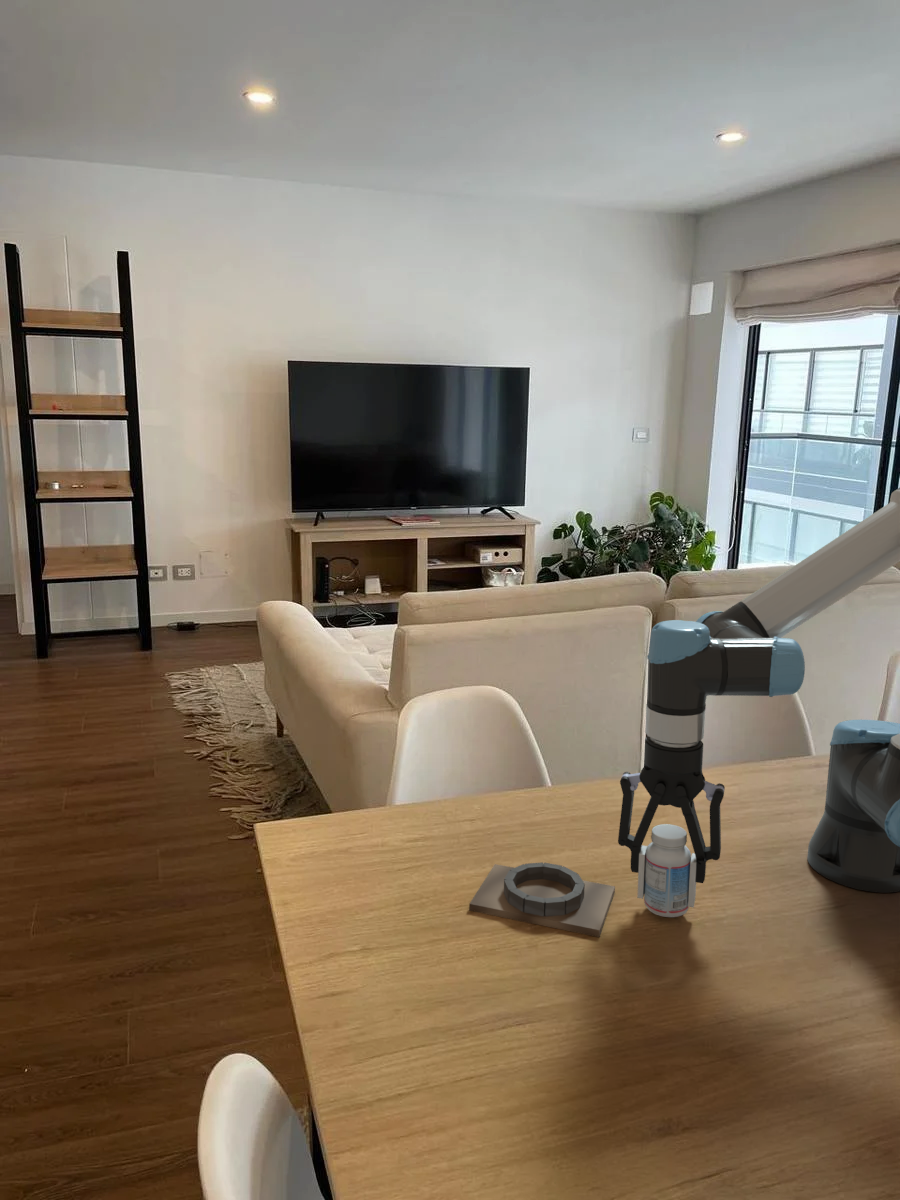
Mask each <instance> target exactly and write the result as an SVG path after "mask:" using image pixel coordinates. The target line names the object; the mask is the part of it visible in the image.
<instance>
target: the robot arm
mask: <svg viewBox="0 0 900 1200" xmlns="http://www.w3.org/2000/svg"><path fill="white" fill-rule="evenodd" d="M899 563H900V487H898V488H897V489H895V490H894V491H892V492H891V495H890V499H889V502H888V503H887V504H886V505H884V506H883V507H881V508H880V509H878V510H876V511H875V512H874V513H872V514H870V515H869V516H868V517H866V518H865V519H863V520H861V521H860V522H859V523H857V524H856V525H854V526H852V527H851V528H849V529H848V530H846V531H845V532H843V533H842V534H840V535H839V536H837V537H836V538H834V539H832V540H831V541H830V542H828V543H827V544H825V545H824V546H822V547H820V548H819V549H817V550H816V551H815V552H813V553H811V554H810V555H809V556H807V557H805V558H803V559H802V560H801V561H799V562H798V563H796V564H795V565H793V566H791V568H789V569H788V570H786V571H784V572H783V573H781V574H780V575H778V576H777V577H775V578H774V579H772V580H770V581H769V582H768V583H766V584H764V585H763V586H762V587H760V588H759V589H757V590H756V591H754V592H752V593H751V594H749V595H748V596H746V597H745V598H744V599H741V600H740V601H738V602H737V603H735V604H734V605H732V606H730V607H729V608H727V609H726V610H724V611H720V610H717V611H716V610H715V611H714V610H713V611H709V612H707V613H704V614H703V615H701V616H700V617H699V618H698V619H696V620H695V621H694V620H693V621H692V620H682V619H673V620H672V619H671V620H663V621H660V622H658V623H656V624H655V625H654V626H653V627H652V628H651V630H650V635H649V637H650V638H649V645H648V652H647V653H648V655H647V666H648V667H647V690H646V691H647V693H646V694H647V696H646V705H645V731H644V732H645V735H646V737H645V739H644V756H643V757H644V758H643V768H641V770H640V772H636V773H630V772H629V771H624V772H623V773H622V775H621V779H620V781H619V784H620V787H621V793H622V801H621V802H622V803H621V811H620V820H619V829H618V837H617V843H618V845H619V846H621V847H622V846H623V847H624V846H625V847H627V848H628V849H629V850H630V871H631V872H632V873H637V875H638V877H637V878H638V879H637V896H636V897H637V899H643V900H644V890H645V857H646V848H647V846H648V845H643V843H644V841H645V838H646V837H647V833H648V831H649V829H650V826H651V823H652V821H653V818H654V816H655V814H656V812H657V809H658V807H659V806H672V807H675V808H678V809H679V808H680V809H681V813H682V816H684V817H683V818H684V821H685V823H686V824H685V825H686V827H687V831H688V835H689V838H690V842H691V846H692V849H693V853H691V862H690V879H689V898H688V907H689V908H695V903H696V902H695V901H696V896H697V895H696V893H697V891H696V890H697V883H699V884H704V882H705V881H706V873H707V872H706V868H707V861H711V860H713V861H718V860H720V858H721V853H722V851H721V850H722V837H721V836H722V832H721V828H722V827H721V824H722V823H721V804H722V801H723V799H724V795H725V790H726V789H725V785H724V784H723V783H720V782H719V783H716V784H715V783H712V782H709V781H707V780H706V778H705V776H704V773H703V762H704V761H703V759H704V756H703V755H704V743H703V741H702V740H703V739H704V736H705V723H706V722H705V721H706V709H707V707H706V705H707V704H706V701H707V697H708V696H714V697H717V696H719V697H720V696H723V697H725V696H732V697H733V696H738V697H740V696H741V697H742V696H743V697H744V696H745V697H747V696H749V697H750V696H751V697H758V696H759V697H769V698H773V697H775V696H776V697H779V696H791V695H793V694H796V693H797V692H799V690H800V689H801V687H802V685H803V683H804V678H805V670H806V666H805V665H806V661H805V657H804V656H805V655H804V652H803V649H802V647H801V645H800V644H799V642H798V641H797V640H795V639H793V638H789V637H784V636H786V635H788V634H790V633H791V632H792V631H794V630H796V629H797V628H799V627H800V626H802V625H803V624H805V623H806V622H807V621H809V620H811V619H813V618H814V617H816V616H817V615H819V614H820V613H822V612H823V611H825V610H827V609H828V608H829V607H831V606H833V605H834V604H836V603H837V602H839V601H840V600H842V599H843V598H845V597H847V596H848V595H849V594H851V593H853V592H855V591H856V590H858V589H859V588H861V587H863V586H864V585H866V584H867V583H868V582H870V581H872V580H873V579H874V578H876V577H878V576H879V575H881V574H883V573H884V572H885V571H887V570H889V569H890V568H892V567H894V566H895V565H896V564H899ZM829 746H830V751H829V760H828V771H827V783H826V794H825V804H824V811H823V815H822V816H821V818H820V819H819V822H818V824H817V826H816V828H815V830H814V833H813V834H812V836H811V838H810V840H809V842H808V848H807V857H806V858H807V862H808V864H809V865H810V867H811V868H812V869H813V870H814V871H816V872H817V873H818V874H819V875H821V876H823V877H824V878H826V879H828V880H830V881H831V882H834V883H837V884H839V885H843V886H845V887H849V888H850V889H851V888H852V889H856V890H860V891H864V892H872V893H884V894H885V893H896V892H897V893H899V892H900V723H899V722H894V721H888V720H887V721H886V720H877V719H849V720H843V721H840V722H838V723H837V724H836V725H835V726H834V728H833V730H832V737H831V741H830V743H829ZM640 783H641V785H643V787H644V789H646V792H647V793H648V794H649V797H650V798H649V801H648V803H647V805H646V808H645V811H644V812H643V816H642V818H641V821H640V823H639V826H638V828H637V831H636V832H635V835H633V834H631V833H630V832H631V825H632V815H633V808H634V806H633V805H634V799H635V791H636V790H637V789H638V787H639V784H640ZM702 791H704V793H705V798H706V800H707V801H709V803H710V805H709V842H710V843H709V846H706V843H705V840H704V835H703V832H702V829H701V825H700V821H699V818H698V815H697V811H696V808H695V802H694V799H695V798H696V797H697V796H698V795H699V794H700V793H701V792H702Z"/></svg>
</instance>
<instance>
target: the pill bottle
mask: <svg viewBox="0 0 900 1200" xmlns="http://www.w3.org/2000/svg"><path fill="white" fill-rule="evenodd" d="M687 835H688V834H687V830H685V828H683V827H681V826H679V825H675V824H669V823H663V824H662V823H661V824H658V825H655V826H654V827H652V829H651V836H650V838H651V842H649V844H648V845H646V846H647V848H646V857H645V890H644V896H643V902H644V906H645V907H646V908H647V910H648V911H650V912H651V913H652V914H654V915H656V916H660V917H665V918H677V917H681V916H683V915H685V914H686V913H687V912H688V910H689V909H690V907H688V898H689V879H690V862H691V856H692V853H691V851H690V849H689V848H688V846H687V845H686V844H687V842H688V841H687V840H688V837H687Z"/></svg>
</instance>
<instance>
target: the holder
mask: <svg viewBox="0 0 900 1200" xmlns="http://www.w3.org/2000/svg"><path fill="white" fill-rule="evenodd" d="M615 891H616V886H615V885H610V884H605V883H599V882H593V881H588V880H583V879H582V877H581V876H580V874H579V873H577V872H576V871H574V870H572V869H570V868H568V867H566V866H564V865H560V864H555V863H550V862H549V863H548V862H543V861H542V862H531V863H530V862H529V863H523V864H520V865H518V866H516V867H514V866H507V865H502V864H496V863H494V864H493V866H492V867H491V869H490V871H489V873H488V874H487V876H486V877H485V878H484V880H483V882H482V883H481V885H480V886H479V888H478V889H477V891H476V893H475V894H474V896H473V897H472V899H471V901H470V902H469V907H468V909H469V910H468V911H470V912H475V913H480V914H486V915H490V916H496V917H499V918H505V919H510V920H515V921H519V922H524V923H528V924H529V923H530V924H534V925H539V926H544V927H547V928H548V927H549V928H554V929H558V930H562V931H567V932H572V933H578V934H581V935H582V934H583V935H587V936H592V937H597V938H600V937H601V934H602V931H603V929H604V925H605V922H606V920H607V916H608V913H609V910H610V908H611V905H612V901H613V899H614V895H615V894H616V893H615Z"/></svg>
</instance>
